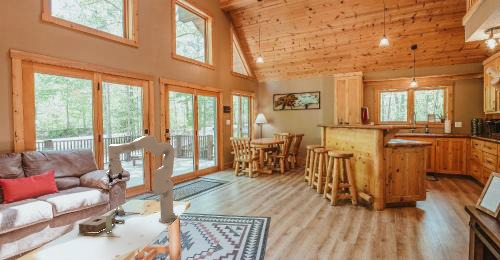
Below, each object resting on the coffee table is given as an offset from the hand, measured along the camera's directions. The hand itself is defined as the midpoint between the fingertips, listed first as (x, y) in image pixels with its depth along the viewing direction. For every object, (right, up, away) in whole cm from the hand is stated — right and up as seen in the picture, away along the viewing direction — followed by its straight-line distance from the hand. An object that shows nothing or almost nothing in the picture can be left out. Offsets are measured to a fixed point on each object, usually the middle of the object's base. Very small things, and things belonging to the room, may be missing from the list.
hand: (115, 180), depth 206 cm
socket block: (-3, -31, -19) cm, 36 cm away
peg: (+9, -31, -26) cm, 41 cm away
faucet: (+6, -31, +3) cm, 31 cm away
